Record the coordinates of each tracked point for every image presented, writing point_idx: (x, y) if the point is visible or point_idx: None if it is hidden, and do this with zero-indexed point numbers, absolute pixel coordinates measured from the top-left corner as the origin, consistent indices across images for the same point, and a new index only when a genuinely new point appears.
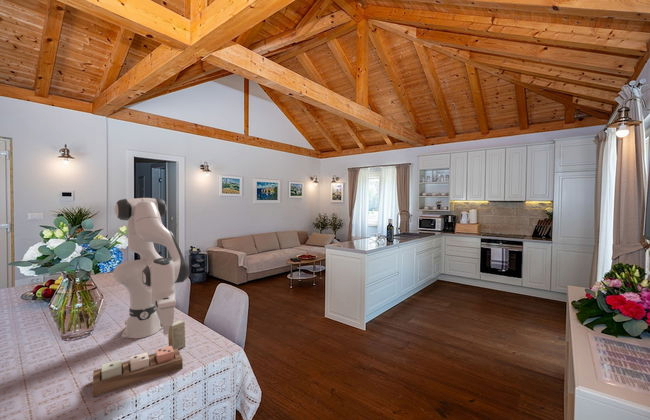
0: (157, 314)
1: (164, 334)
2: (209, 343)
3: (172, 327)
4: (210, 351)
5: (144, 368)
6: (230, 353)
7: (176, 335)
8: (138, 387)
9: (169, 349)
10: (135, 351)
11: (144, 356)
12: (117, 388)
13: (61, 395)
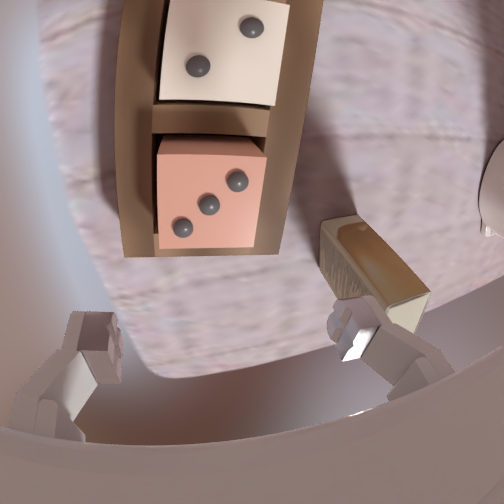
0: (459, 395)
1: (73, 314)
2: (269, 333)
3: (381, 305)
4: (205, 329)
5: (142, 68)
6: (150, 363)
7: (351, 282)
8: (88, 44)
9: (205, 230)
10: (434, 109)
11: (217, 76)
12: None
13: None
